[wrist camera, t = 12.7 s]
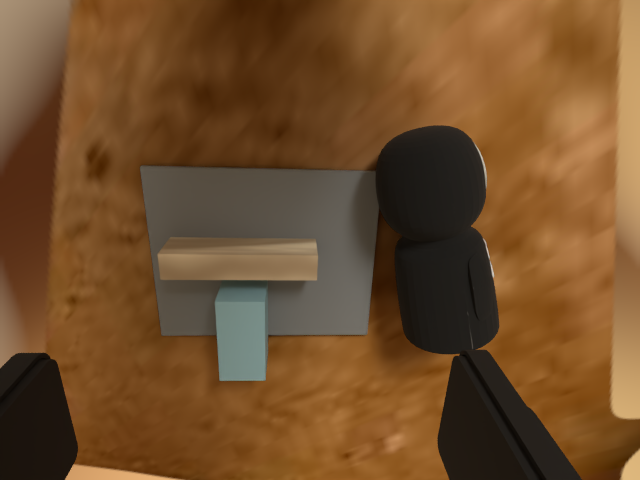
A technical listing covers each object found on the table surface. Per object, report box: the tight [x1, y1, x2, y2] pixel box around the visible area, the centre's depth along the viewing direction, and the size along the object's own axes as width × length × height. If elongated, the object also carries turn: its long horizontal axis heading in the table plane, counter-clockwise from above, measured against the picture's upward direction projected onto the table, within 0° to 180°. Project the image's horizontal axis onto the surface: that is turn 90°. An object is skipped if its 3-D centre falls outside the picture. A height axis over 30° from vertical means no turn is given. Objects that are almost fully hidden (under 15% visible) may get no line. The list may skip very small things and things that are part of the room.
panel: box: [140, 166, 379, 336], centre depth 41 cm, size 18×22×1 cm
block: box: [215, 280, 268, 381], centre depth 41 cm, size 4×4×9 cm
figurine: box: [375, 126, 499, 354], centre depth 37 cm, size 9×9×20 cm
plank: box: [158, 237, 318, 280], centre depth 39 cm, size 2×14×4 cm, turn 88°
